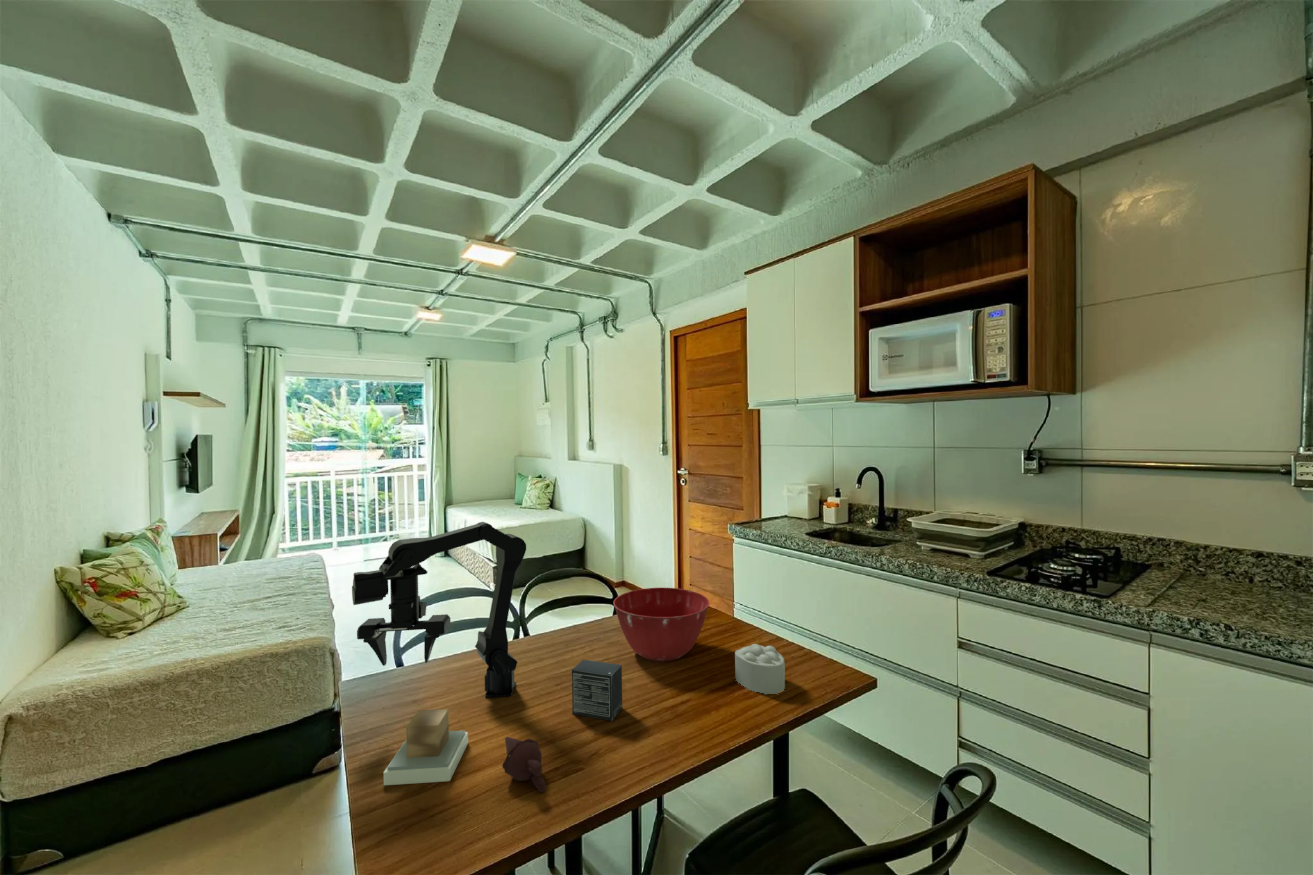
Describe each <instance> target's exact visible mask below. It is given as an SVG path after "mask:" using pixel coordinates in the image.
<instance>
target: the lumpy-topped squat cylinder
mask: <svg viewBox="0 0 1313 875" xmlns="http://www.w3.org/2000/svg"><path fill="white" fill-rule="evenodd" d="M734 662H735V663H734V667H735V668H734V669H735V670H734V672H735V675H734V677H735V679H736V680H735V679H734V680H735V682H736V681H737V682H738V683H737V682H736V683H737V684H739V683H740V684H741V687H743V686H744V687H743V688H745V687H746V688H745V689H747V688H748V689H747V690H748V691H751V690H752V691H751V692H753V691H754V692H753V693H756V692H760V693H759V694H761V693H764V694H763V695H767V694H777V695H779V694H778V693H780V692H782V691H784V692H785V690H784V689H786V679H785V678H786V677H785V676H786V673H785V672H786V671H785V669H786V668H785V665H786V664H785V659H784V657H783V655H782V654H781V653H779V652H778V651H777V649H776V648H775V647H774V646H773V645H766V646H763V645H761V644H758V643H753V644H751V645H749V646H744V647H741V648H740V649H736V650H735V652H734ZM740 684H739V685H740Z"/></svg>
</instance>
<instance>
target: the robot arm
mask: <svg viewBox="0 0 1313 875" xmlns="http://www.w3.org/2000/svg"><path fill="white" fill-rule="evenodd" d="M480 541H486V542H488V543H489V544H491V545H493V546H495V560H496V565H497V572H496V573H497V574H496V578H495V585H494V589H493V595H492V599H491V606H490V612H489V618H488V623H487V626H486V627H485V629H484V631H478V632H477V641H476V644H475V646H474V648H476V650H477V651H476V652H477V655H478V656H479V658H480V659H481V660H483V662H484V663H485V664H486V665H487V668H486V672H485V675H484V692H485V694H484V697H485V698H496V697H511V696H512V695H513V693H514V690H515V688H516V685H517V682H516V681H515V670H516V668H517V664H518V660H516V658H514V657H513V655H512V654H510V653H509V640H508V632H507V624H508V617H509V612H510V607H511V603H512V602H511V601H512V595H513V590H514V584H515V578H516V574H517V571H518V570H519V568H520V566H521V565H522V563H523V560H524V557H525V554H526V551H527V543H526V542H525V541H524V539H523V538H521V537H519V536H517V535H514V534H512V533H504V532H502V531H501V530H499V529H497V528H495V527H494V526H493V525H492V524H490V523H488V522H485V521H479V522H477V523H475V524H472V525H469V526H465V527H461V528H458V529H454V530H451V531H450V530H449V531H447V532H444V533H439V534H436V535H433V536H427V537H413V538H411V537H410V538H403V539H398V540H396V541H394V542H392V544H391V545H390V547H389V549H388V552H387V554H388V555H387V556H386V558H385V559H384V561H383V562H382V563H381V564H380V566H379V568H378V569H376V570H370V571H358V572H354V573H353V579H352V580H353V581H352V586H351V598H352V605H353V606H357V605H362V604H369V603H374V602H378V601H380V602H381V601H383V600H384V598H386V597H387V596H388V595H389V591H390V603H389V604H388V610H390V622H386V619H385V618H384V617H376V618H368V619H366V620H365V621H364V622H363V623H362V624H360V625H359V626H358V628H357V630H356V639H357V640H363V643H365V644H366V643H367V644H368V645H369V646H370V648H371V649H372V651H373V652H374V653H375V655H376V656H377V658H378V660H379V661H380V664H381V665H382V666H383V667H384V666H386V665H387V661H388V659H387V658H388V655H387V644H386V643H387V642H386V637H387V632H399V631H401V632H402V631H418V630H419V631H421V630H425V633H426V635H424V641H423V642H424V644H423V645H424V650H423V652H424V656H423V657H424V663H425V664H427V663H429V660H430V657H431V654H432V651H433V647H434V644H435V641H436V640H437V639H439V637H440V636H441V635H444V634H445V633H446V632H447V631H448V629H449V628H450V627H451V625H452V623H451V622H452V621H451V617H450V615H449V614H432V615H431V617H430V618H429V619H427V620H420V619H422V618H423V617H425V616H427V602H426V601H421V596H420V595H419V576H423V575H427V574H428V570H426V569H425V568H424V567H422V565H421V563H423V562H425V561H427V560H428V559H429V558H431V557H432V556H435V555H436V554H440V553H445V552H447V551H451V550H454V549H458V548H459V547H460V548H461V547H464V546H467V545H471V544H473V543H477V542H480ZM389 582H390V590H389Z"/></svg>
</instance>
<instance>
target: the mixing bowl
mask: <svg viewBox="0 0 1313 875" xmlns="http://www.w3.org/2000/svg"><path fill="white" fill-rule="evenodd" d="M612 602H613V606H614V609H615V611H616V616H617V620H618V623H619V625H620V628H621V630H622V634H623V635H624V637H625V639H626V641H627V643H628V645H629V647H630V648H631V649H632V651H634V652H635V653H636V654H638V655H639V656H641V657H642V658H643V659H646V660H649V661H652V662H653V661H655V662H669V661H675V660H678V659H680V658H682V657H683V656H684V655H686V654H688V653H689V651H690V650H692V648H693V647H694V646H695V644H696V642H697V640H698V639H699V636H700V633H701V631H702V629H703V626H704V623H705V620H706V615H707V611H708V608H709V606H710V601H709V599H708V597H706V596H705V595H703V594H701V593H699V592H697V591H693V590H689V589H683V588H678V587H677V588H676V587H647V588H639V589H634V590H630V591H627V592H625V593H622V594H619V595H618V596H616V598H615V599H614V600H613V601H612Z"/></svg>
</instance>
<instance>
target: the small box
mask: <svg viewBox="0 0 1313 875" xmlns="http://www.w3.org/2000/svg"><path fill="white" fill-rule="evenodd" d="M622 670H623V666H622V664H618V663H611V662H610V663H609V662H603V661H602V662H601V661H595V660H588V659H582V660H581V661H580V662H579V663H578V664H577V665H575V666H574V667H572V669H571V682H572V683H571V685H572V687H571V690H572V691H571V692H572V693H571V697H572V698H571V699H572V701H571V702H572V708H571V709H572V712H571V713H572V714H573V715H576V716H581V717H582V716H583V717H589V718H594V719H599V720H604V721H611V722H613V720H615V718H616V717H617V715H619V713H620V712H621V711H622V709H623V673H622Z"/></svg>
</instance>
